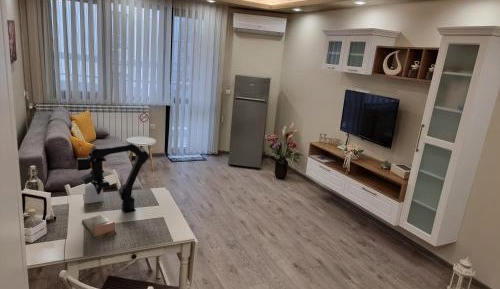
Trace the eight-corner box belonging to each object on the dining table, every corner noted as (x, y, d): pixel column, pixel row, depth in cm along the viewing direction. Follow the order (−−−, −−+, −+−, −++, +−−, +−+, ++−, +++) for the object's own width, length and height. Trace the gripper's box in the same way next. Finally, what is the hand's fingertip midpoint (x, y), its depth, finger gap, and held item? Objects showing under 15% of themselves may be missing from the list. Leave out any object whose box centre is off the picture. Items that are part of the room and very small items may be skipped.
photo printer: (102, 198, 222) (101, 181, 219) (103, 201, 219) (103, 183, 215) (85, 201, 216) (84, 183, 213) (86, 204, 213) (85, 185, 210)
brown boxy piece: (100, 217, 199) (99, 207, 197) (116, 233, 184) (116, 222, 182) (81, 222, 192) (81, 211, 190) (97, 239, 177) (96, 228, 175)
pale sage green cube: (106, 225, 188) (105, 217, 187) (109, 229, 185) (109, 220, 183) (94, 228, 184) (94, 220, 183) (98, 232, 180) (98, 224, 179)
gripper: (76, 166, 195) (77, 191, 200) (88, 176, 183) (90, 203, 187) (96, 162, 203) (97, 187, 207) (109, 172, 190) (110, 198, 195)
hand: (98, 194), depth 199 cm, fingers closed
